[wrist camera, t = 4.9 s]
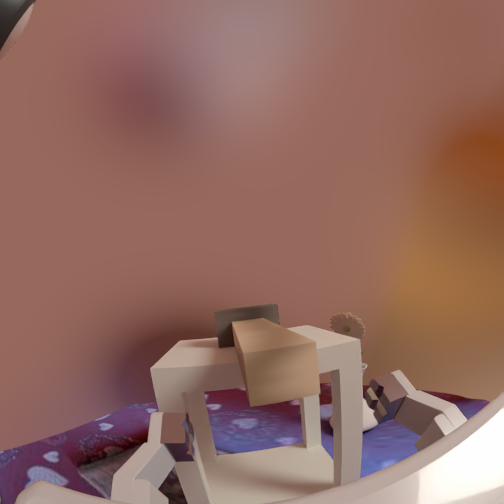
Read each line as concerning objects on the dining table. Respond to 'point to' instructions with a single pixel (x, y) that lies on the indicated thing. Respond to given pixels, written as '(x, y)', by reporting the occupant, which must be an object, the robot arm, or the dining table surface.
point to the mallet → (269, 354)
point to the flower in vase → (356, 329)
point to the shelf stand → (271, 460)
